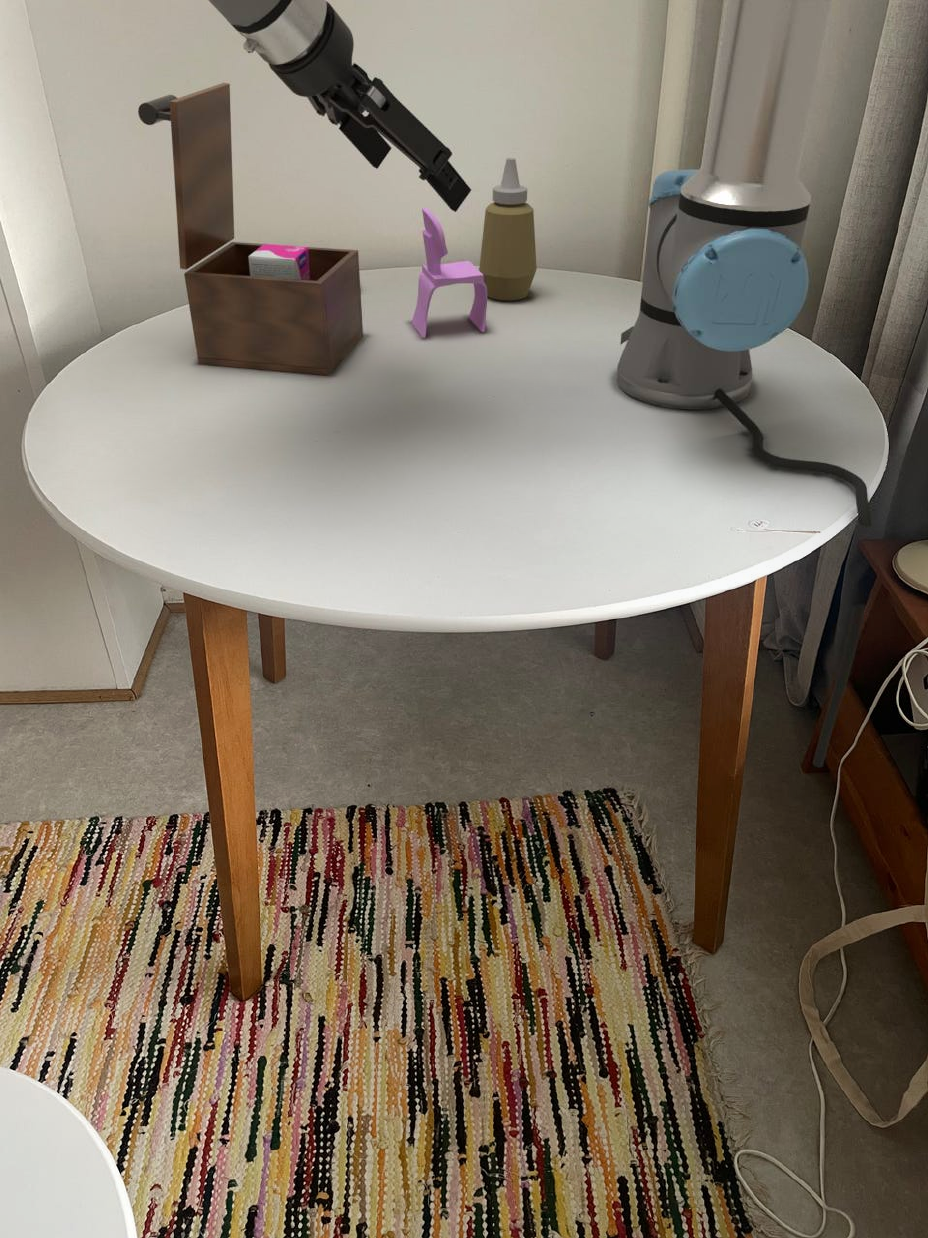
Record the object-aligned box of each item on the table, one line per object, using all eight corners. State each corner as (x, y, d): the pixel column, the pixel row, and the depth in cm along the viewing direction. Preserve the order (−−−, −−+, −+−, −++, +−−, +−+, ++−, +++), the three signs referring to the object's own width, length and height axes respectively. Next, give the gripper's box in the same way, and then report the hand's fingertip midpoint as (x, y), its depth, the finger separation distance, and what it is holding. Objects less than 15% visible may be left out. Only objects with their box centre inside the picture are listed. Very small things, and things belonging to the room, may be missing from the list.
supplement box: (303, 355, 121) (294, 258, 114) (256, 352, 122) (244, 255, 115) (316, 338, 125) (308, 244, 119) (271, 335, 126) (260, 242, 120)
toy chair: (490, 334, 129) (493, 212, 120) (424, 341, 127) (422, 217, 118) (472, 313, 135) (473, 197, 127) (409, 320, 133) (405, 201, 125)
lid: (229, 83, 115) (176, 74, 115) (176, 101, 104) (118, 92, 104) (234, 238, 125) (185, 229, 126) (186, 269, 114) (133, 259, 115)
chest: (363, 336, 129) (358, 249, 122) (328, 375, 118) (320, 283, 111) (243, 326, 132) (232, 241, 125) (198, 363, 121) (183, 273, 114)
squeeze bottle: (469, 290, 144) (470, 155, 133) (519, 283, 146) (523, 150, 136) (494, 307, 138) (497, 167, 127) (545, 299, 140) (552, 161, 130)
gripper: (201, 32, 95) (333, 169, 113) (353, 109, 82) (475, 250, 100) (246, -37, 94) (372, 112, 112) (407, 30, 81) (520, 187, 99)
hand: (420, 178), depth 106 cm, fingers open, 13 cm apart
